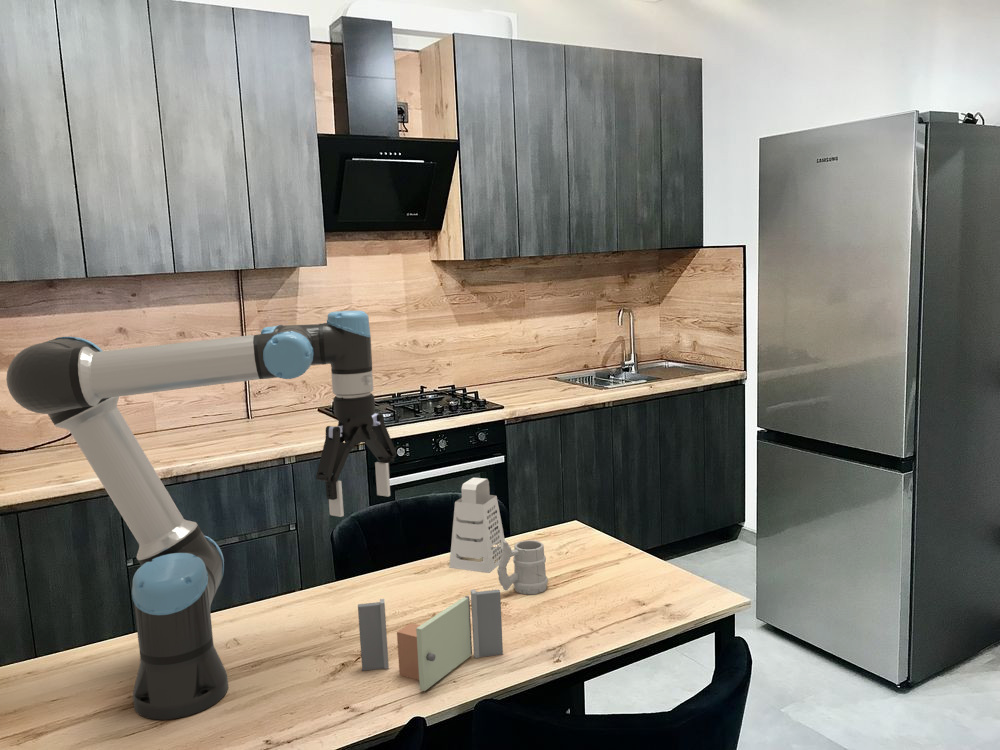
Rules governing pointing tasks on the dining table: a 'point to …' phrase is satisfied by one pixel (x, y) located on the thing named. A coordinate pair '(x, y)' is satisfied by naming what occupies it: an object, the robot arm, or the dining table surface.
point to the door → (444, 642)
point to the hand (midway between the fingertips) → (361, 505)
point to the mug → (524, 567)
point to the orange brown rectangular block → (408, 651)
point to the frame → (483, 624)
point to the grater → (476, 528)
